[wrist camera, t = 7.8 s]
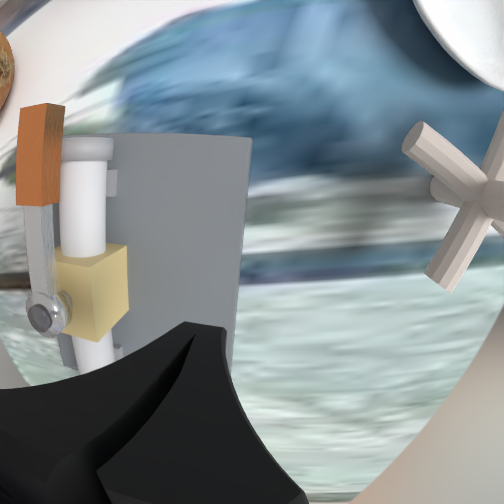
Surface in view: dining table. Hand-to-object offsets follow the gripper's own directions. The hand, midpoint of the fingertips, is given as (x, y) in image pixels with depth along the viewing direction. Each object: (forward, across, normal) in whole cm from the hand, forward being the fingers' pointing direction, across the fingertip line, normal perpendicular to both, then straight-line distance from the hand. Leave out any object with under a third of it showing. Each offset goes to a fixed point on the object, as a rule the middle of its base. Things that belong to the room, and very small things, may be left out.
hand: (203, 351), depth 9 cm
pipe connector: (+11, -12, -6) cm, 17 cm away
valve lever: (+4, +9, -2) cm, 10 cm away
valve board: (+10, +7, +2) cm, 13 cm away
